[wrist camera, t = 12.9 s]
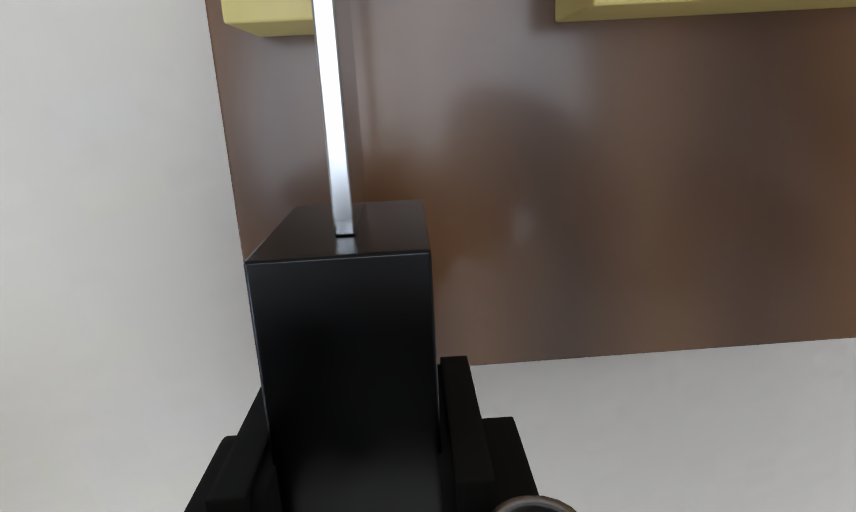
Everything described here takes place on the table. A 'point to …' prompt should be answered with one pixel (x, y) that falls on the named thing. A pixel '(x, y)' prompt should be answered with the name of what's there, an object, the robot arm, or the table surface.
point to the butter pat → (269, 16)
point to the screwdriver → (348, 325)
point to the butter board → (579, 168)
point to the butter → (678, 8)
